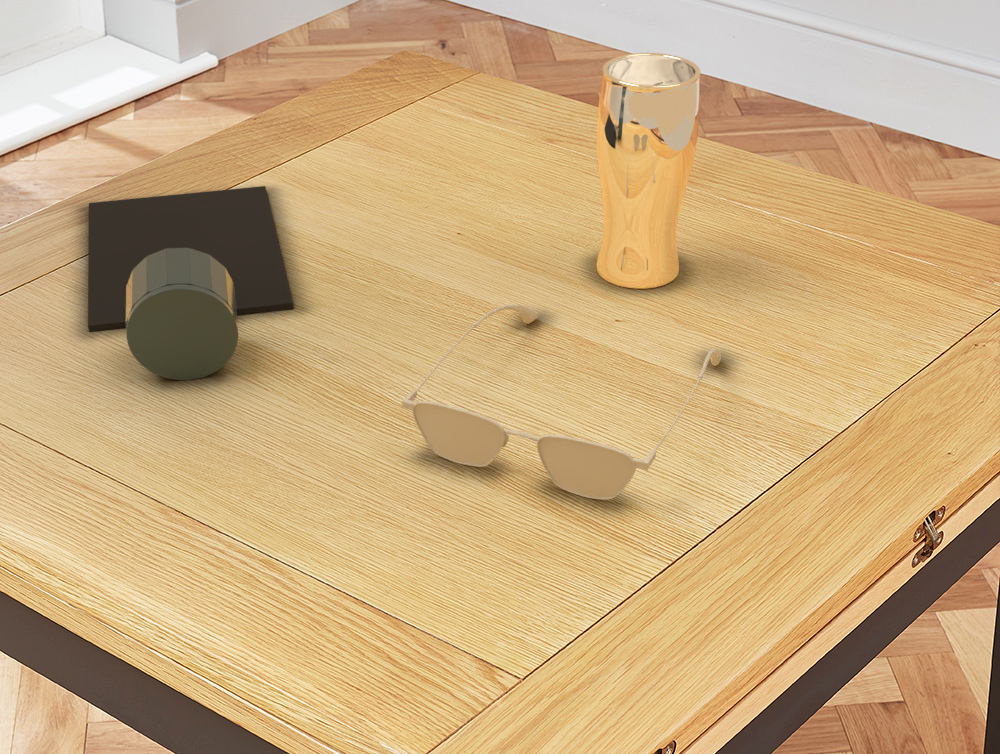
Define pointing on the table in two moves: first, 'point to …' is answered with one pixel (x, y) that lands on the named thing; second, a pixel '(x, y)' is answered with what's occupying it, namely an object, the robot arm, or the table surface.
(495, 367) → the table surface
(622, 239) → the beer glass
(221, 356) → the cup
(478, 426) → the eyeglasses
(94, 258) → the mat
